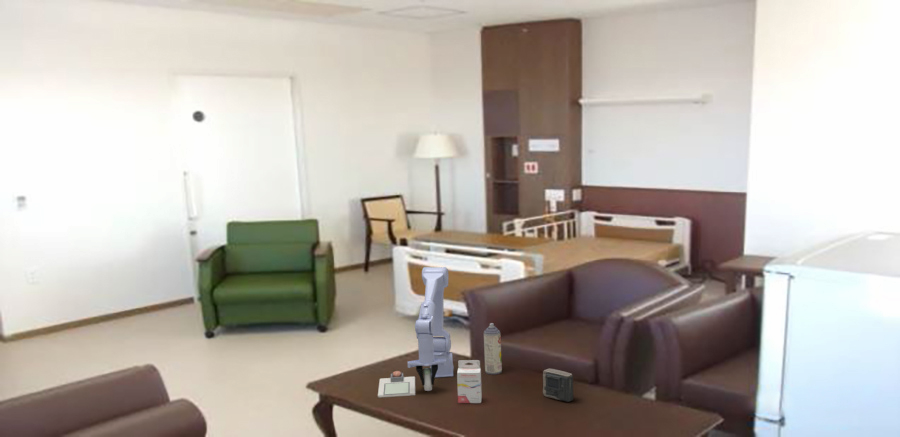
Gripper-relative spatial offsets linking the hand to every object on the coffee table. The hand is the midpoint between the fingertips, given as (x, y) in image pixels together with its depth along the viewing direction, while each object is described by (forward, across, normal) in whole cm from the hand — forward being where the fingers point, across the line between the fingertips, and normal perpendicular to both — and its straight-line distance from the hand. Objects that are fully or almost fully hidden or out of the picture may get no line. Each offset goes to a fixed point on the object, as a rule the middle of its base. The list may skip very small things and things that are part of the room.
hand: (427, 384), depth 272 cm
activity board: (+3, -12, +6) cm, 14 cm away
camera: (+3, +47, -15) cm, 49 cm away
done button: (+1, -12, +12) cm, 17 cm away
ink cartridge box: (+3, +15, -12) cm, 20 cm away
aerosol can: (+3, +27, +17) cm, 32 cm away
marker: (+2, 0, 0) cm, 2 cm away
